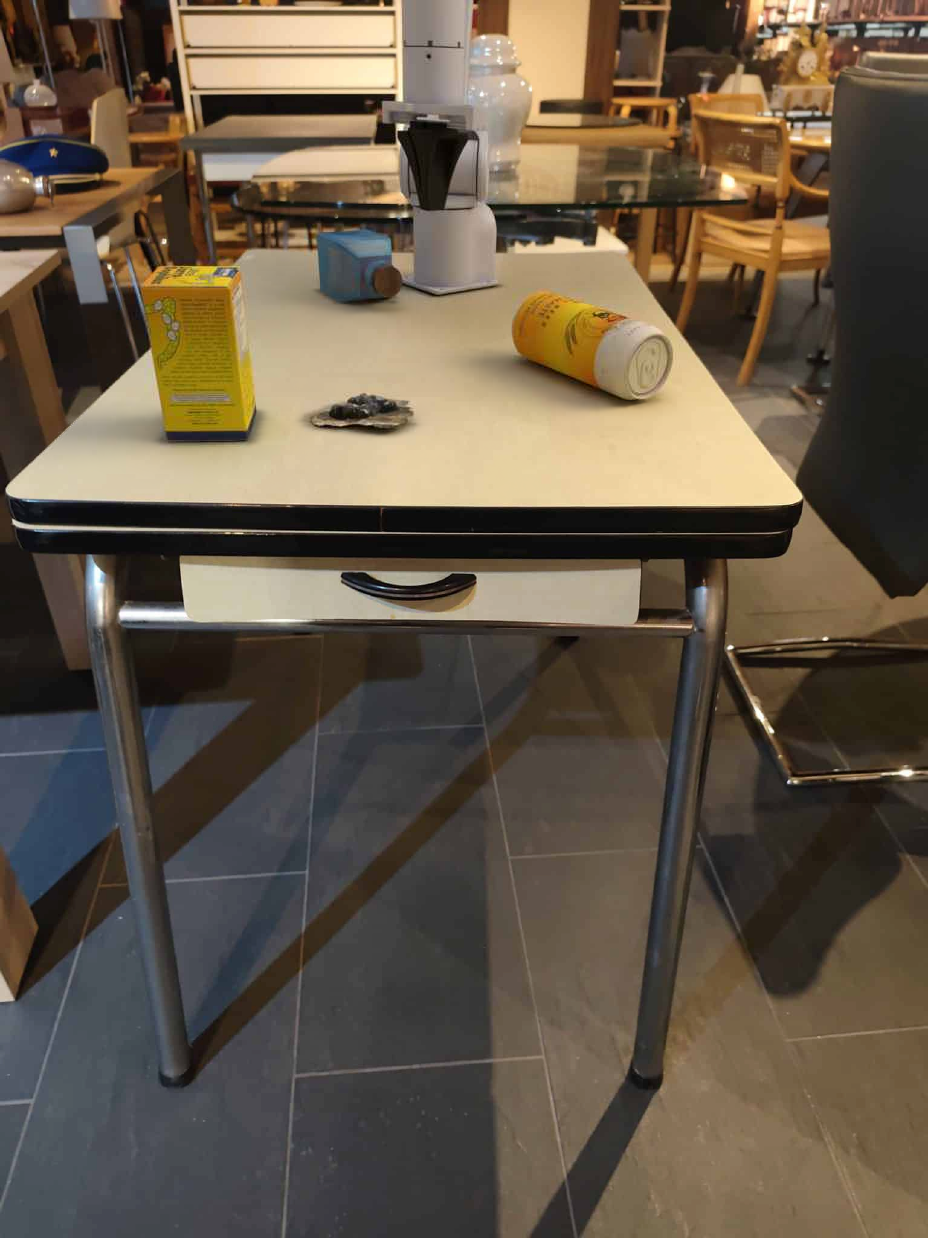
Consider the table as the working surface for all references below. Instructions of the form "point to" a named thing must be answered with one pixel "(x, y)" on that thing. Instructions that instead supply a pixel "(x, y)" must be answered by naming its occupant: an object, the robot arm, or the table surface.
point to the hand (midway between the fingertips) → (432, 209)
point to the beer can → (593, 345)
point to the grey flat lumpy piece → (365, 412)
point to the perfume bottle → (356, 266)
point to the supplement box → (200, 352)
